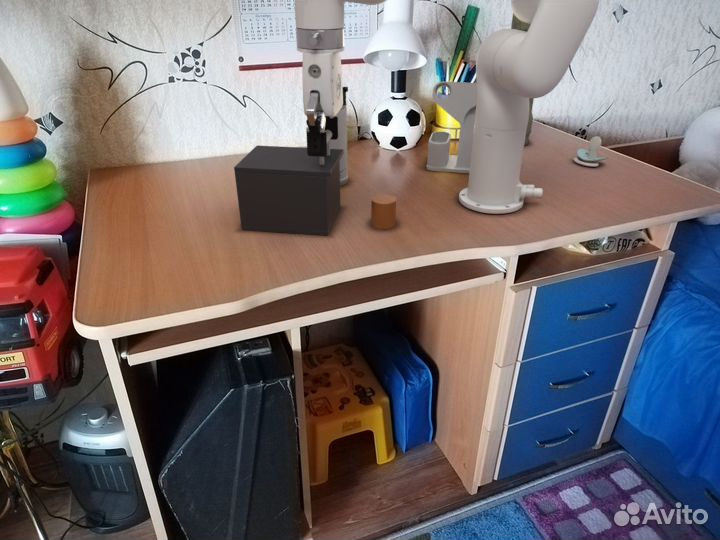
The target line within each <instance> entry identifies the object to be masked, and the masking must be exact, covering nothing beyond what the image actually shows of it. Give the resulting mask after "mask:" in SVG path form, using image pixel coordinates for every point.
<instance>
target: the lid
mask: <svg viewBox="0 0 720 540" xmlns="http://www.w3.org/2000/svg"><path fill="white" fill-rule="evenodd" d="M324 132H327V155H326V157H317V156H308V154H307V147H298V146H297V147H296V146H278V145H277V146H276V145H255V146H254V147H253V149H252V150H250V152H248V153H247V154H246V155H245V156H244V157H243V158H242V159H241V160H240V161H239V162H238V163H237V164H236V165H235V166H233V170H234V173H235V172H250V173H269V174H288V175H307V176H326V177H331V175H332V173H333V171H334V169H335V168H336V166H337V164H338V162H339V161H340V159H341V157H342V155H343V154H344V150H343V149H330V139H331V137H332V132H331V131H330V130H325V131H324Z"/></svg>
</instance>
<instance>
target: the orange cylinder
mask: <svg viewBox="0 0 720 540" xmlns="http://www.w3.org/2000/svg"><path fill="white" fill-rule="evenodd" d="M370 205H371V213H370V214H371V218H370V221H371V222H370V225H371V227H373V228H374V229H377V230H390V229H393V228H394V227H395V226H396V214H397V212H396V211H397V198H396V197H395V196H394V195H392V194H385V193H384V194H375V195H374V196H372V197H371V204H370Z"/></svg>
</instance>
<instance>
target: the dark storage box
mask: <svg viewBox="0 0 720 540" xmlns="http://www.w3.org/2000/svg"><path fill="white" fill-rule="evenodd" d="M234 177H235V186H236V187H235V188H236V195H237V203H238V211H239V219H240V226H241V231H252V232H267V233H281V234H295V235H296V234H299V235H311V236H312V235H313V236H325V237H328V236H329V234H330V232H331V229H332V227H333V226H334V223H335V221H336V218H337V216H338V214H339V212H340V210H341V186H340V161H339V162H338V164H337V166H336V168H335V169H334V171H333V173H332V175H331V177H326V176H307V175H288V174H269V173H250V172H235V171H234Z"/></svg>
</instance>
